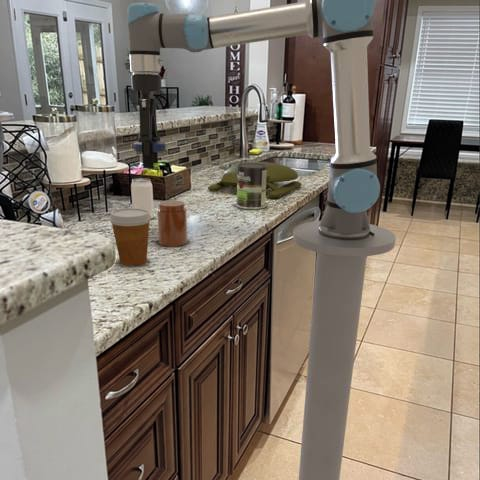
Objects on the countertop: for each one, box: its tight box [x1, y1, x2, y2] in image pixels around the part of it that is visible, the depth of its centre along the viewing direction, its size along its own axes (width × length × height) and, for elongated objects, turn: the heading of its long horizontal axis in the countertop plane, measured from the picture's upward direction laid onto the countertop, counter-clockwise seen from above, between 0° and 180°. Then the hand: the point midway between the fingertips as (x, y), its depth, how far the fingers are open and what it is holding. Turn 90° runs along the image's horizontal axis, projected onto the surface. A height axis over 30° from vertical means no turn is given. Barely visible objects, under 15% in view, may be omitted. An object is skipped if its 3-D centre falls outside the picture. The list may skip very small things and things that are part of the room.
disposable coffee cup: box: [108, 207, 152, 267], centre depth 118 cm, size 10×10×12 cm
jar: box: [157, 200, 188, 247], centre depth 134 cm, size 8×8×11 cm
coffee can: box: [236, 162, 267, 210], centre depth 174 cm, size 10×10×14 cm
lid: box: [133, 140, 167, 153], centre depth 135 cm, size 8×8×2 cm
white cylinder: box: [130, 177, 155, 220], centre depth 157 cm, size 6×6×12 cm
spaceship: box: [207, 161, 303, 199], centre depth 205 cm, size 35×31×10 cm
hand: (150, 165), depth 136 cm, fingers closed on lid, 8 cm apart
